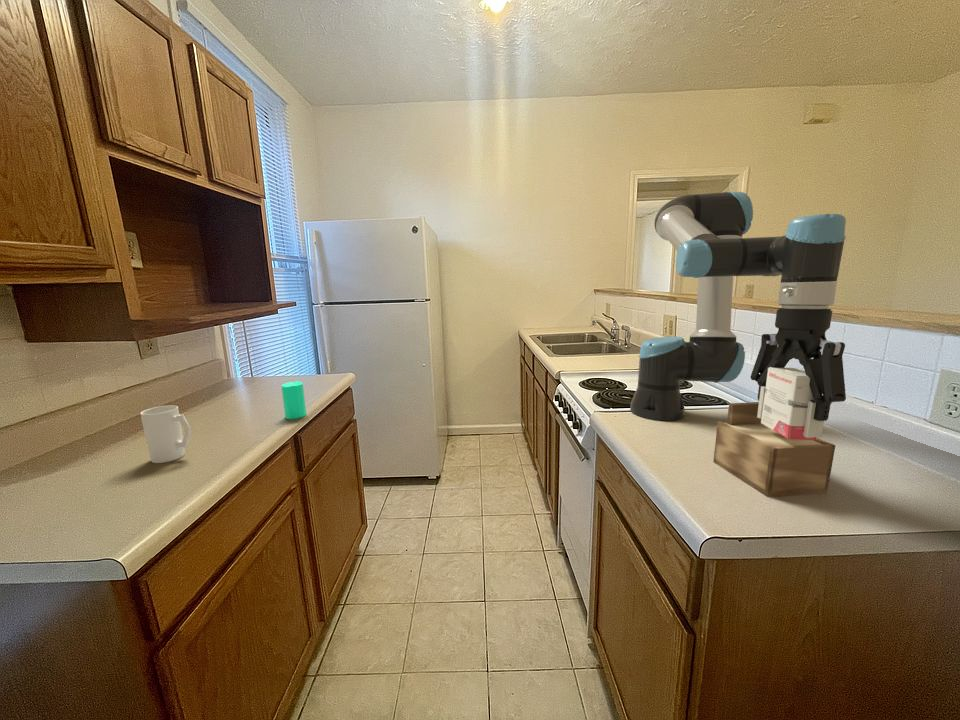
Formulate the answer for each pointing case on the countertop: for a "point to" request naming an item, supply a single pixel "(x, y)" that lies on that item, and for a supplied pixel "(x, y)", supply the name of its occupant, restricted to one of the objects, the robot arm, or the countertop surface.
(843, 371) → the robot arm
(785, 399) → the ink box
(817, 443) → the lid
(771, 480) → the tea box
